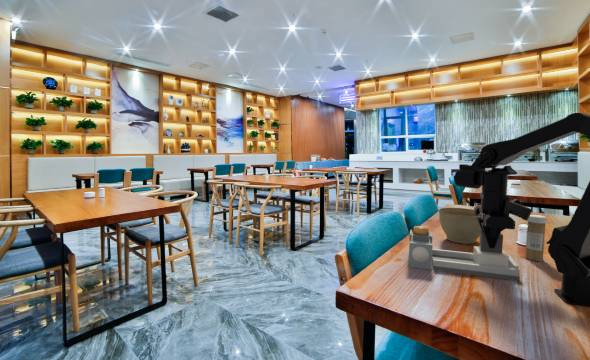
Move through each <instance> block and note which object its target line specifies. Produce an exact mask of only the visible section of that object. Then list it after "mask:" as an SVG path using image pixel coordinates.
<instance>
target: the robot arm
mask: <svg viewBox="0 0 590 360" xmlns="http://www.w3.org/2000/svg"><path fill="white" fill-rule="evenodd" d="M578 133H579V134H581V135H584V136H587V137H590V114H589V113H586V112H585V113H582V112H572V113H570V114H568V115H567V116H565V117H563V118H561V119H558V120H556V121H553V122H551V123H548V124H546V125H543V126H541V127H539V128H537V129H534V130H532V131H529V132H527V133H525V134H522V135H520V136H518V137H515V138H511V139H507V140H502V141H497V142H492V143H488V144H485V145H484V146H482V148H481V150H480V153H479V155H478V156H477V158H475V160H474V161H473V162H472V164H466V163H461V164H458V165H459V166H458V169H456V171H455V174H454V175H453V182H454V185H455V186H456V187H460V188H468V189H476V190H477V189H480V188H481V192H480V193H479V197H480V198H481V201H480V204H477V205H476V206H474V207H473V208H474V209H473V210H474V214H475V215H477V216H478V214H481V215H480V218H477V220H478V222H479V225H480V227H481V230H482V232H484V234H485V237H486V239H487V242H488V245H489V248H495V245H496V243H497V240H498V238H499V235H500V233H501V234H502V231H505V230H515V229H516V221H515V220H514V219H513V217H511V216H510V215H513V216H515V217H518V218H520V219H522V220H523V221H526V222H528V221H527V220H528V218H529V216H530V215H532V212H533V211H534V210H533V209H532V208H530V207H528V206H526V205H524V204H523V203H524V202H523V201H522V200H520V199H516V198H514V199H513V200H511V198H510V196H509V195H508V194H507V193H508V177H509V176H516V175H517V174H518V171H516V170H515V169H514V168H512V165H510V164H511V163H513V162H514V161H516V160H518V159H519V158H520V157H522V156H523V155H524V154H526V153H528V152H530V151H533V150H536V149H538V148H541V147H544V146H546V145H549V144H551V143H554V142H557V141H559V140H563V139H566V138H569V137H571V136H574V135H576V134H578ZM508 164H509V165H508ZM499 166H503V167H499ZM486 169H489V170H486ZM545 244H546V245H548V246H547V247H548V248H547V252H548V253H547V254H549V256H550V258H551V259H552V260H553V262H554V263H555V266H556V270H557V272H558V273H559V274H561V275H562V276H561V287H560V288H554V291H553V292H555V293H556V295H558V297H560V298H561V299H562V300H563V302H565V303H568V304H572V305H581V306H586V307H590V180H589V182H588V183H587V186H586V188H585V190H584V192H583V194H582V196H581V198H580V200H579V202H578V205H577V207H576V209H575V211H574V213H573V215H572V217H571V219H570V221H569V222H568V224H565V225H562V226H557V227H554V228H553V229H552V232H551V236H550V239H549V240H547V241H546V243H545Z"/></svg>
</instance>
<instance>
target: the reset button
mask: <svg viewBox="0 0 590 360" xmlns="http://www.w3.org/2000/svg"><path fill="white" fill-rule="evenodd" d="M413 230H414V234H415V235H425V236H428V231H429V227H428V226H423V225H415V226H413Z"/></svg>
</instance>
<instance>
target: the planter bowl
mask: <svg viewBox="0 0 590 360" xmlns="http://www.w3.org/2000/svg"><path fill="white" fill-rule="evenodd" d="M438 214H439V215H438V216H439V217H438V218H439V223H440V226H441V228H442V231H443V232H444V234H445V235H446V239H447V240H449V241H450V242H454V243H459V244H466V245H468V244H470V245H471V244H475V243H477V240H478V239H479V238H480V231H481V232H482V230H481V227H480V225H479V222H478V220H477V218H480V215H481V214H478V216H477V215H475V214H474V209H471V208H463V207H442V208H438Z"/></svg>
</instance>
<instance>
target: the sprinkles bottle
mask: <svg viewBox="0 0 590 360" xmlns="http://www.w3.org/2000/svg"><path fill="white" fill-rule="evenodd" d="M526 222H527V228H526V229H527V231H526V241H525V255H524V257H525V259H526V260H530V261H534V262H543V261H544V250H545V241H546V240H545V238H546V236H545V235H546V224H547V216H544V215H539V214H530V216H529V218H528V220H527V221H526Z"/></svg>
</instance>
